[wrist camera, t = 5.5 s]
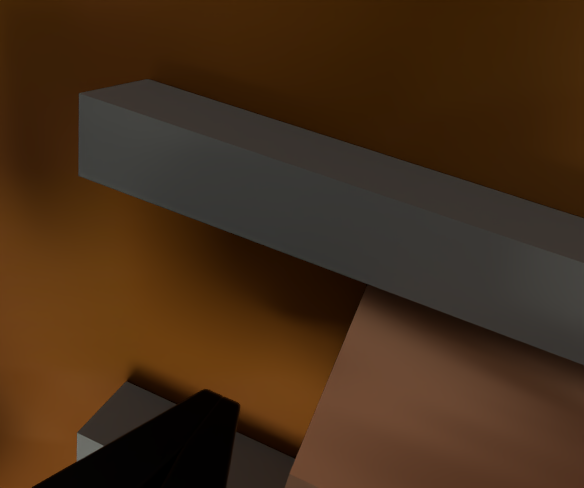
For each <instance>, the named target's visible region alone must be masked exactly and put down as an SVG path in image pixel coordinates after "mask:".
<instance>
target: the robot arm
mask: <svg viewBox="0 0 584 488" xmlns="http://www.w3.org/2000/svg"><path fill="white" fill-rule="evenodd" d="M239 412H240V404H239V403H238V402H236V401H233V400H231V399H229V398H227V397H223V396H222V395H220V394H217V393H215V392H213V391H211V390H208V389H204V390H201V391H200V392H198V393H196V394H194V395H192V396H191V397H189V398H187V399H185V400H184V401H182V402H180V403H178V404H177V405H175V406H173V407H171V408H170V409H168V410H166V411H164V412H163V413H161V414H159V415H157V416H156V417H154V418H152V419H150V420H149V421H147V422H145V423H143V424H142V425H140V426H138V427H136V428H135V429H133V430H131V431H129V432H128V433H126V434H124V435H122V436H121V437H119V438H117V439H115V440H114V441H112V442H110V443H108V444H107V445H105V446H103V447H101V448H100V449H98V450H96V451H94V452H93V453H91V454H89V455H87V456H86V457H84V458H82V459H80V460H79V461H77V462H75V463H73V464H72V465H70V466H68V467H66V468H65V469H63V470H61V471H59V472H58V473H56V474H54V475H52V476H51V477H49V478H47V479H45V480H44V481H42V482H40V483H38V484H37V485H35V486H33V487H32V488H226V487H227V482H228V476H229V470H230V464H231V459H232V453H233V447H234V441H235V435H236V430H237V424H238V418H239Z"/></svg>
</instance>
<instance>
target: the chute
mask: <svg viewBox="0 0 584 488" xmlns="http://www.w3.org/2000/svg"><path fill="white" fill-rule="evenodd" d="M79 176H80V177H83V178H86V179H88V180H91V181H94V182H96V183H99V184H102V185H104V186H107V187H110V188H112V189H115V190H118V191H120V192H123V193H126V194H128V195H131V196H134V197H136V198H139V199H142V200H144V201H147V202H150V203H152V204H155V205H158V206H160V207H163V208H166V209H168V210H171V211H174V212H177V213H179V214H182V215H185V216H187V217H190V218H193V219H195V220H198V221H201V222H203V223H206V224H209V225H211V226H214V227H217V228H219V229H222V230H225V231H227V232H230V233H233V234H235V235H238V236H241V237H243V238H246V239H249V240H251V241H254V242H257V243H259V244H262V245H265V246H267V247H270V248H273V249H275V250H278V251H281V252H283V253H286V254H289V255H291V256H294V257H297V258H299V259H302V260H305V261H307V262H310V263H313V264H315V265H318V266H321V267H323V268H326V269H329V270H331V271H334V272H337V273H339V274H342V275H345V276H347V277H350V278H353V279H355V280H358V281H361V282H363V283H366V284H369V285H371V286H374V287H377V288H379V289H382V290H385V291H387V292H390V293H393V294H395V295H398V296H401V297H403V298H406V299H409V300H411V301H414V302H417V303H419V304H422V305H425V306H427V307H430V308H433V309H435V310H438V311H441V312H443V313H446V314H449V315H451V316H454V317H457V318H459V319H462V320H465V321H467V322H470V323H473V324H475V325H478V326H481V327H483V328H486V329H489V330H491V331H494V332H497V333H499V334H502V335H505V336H507V337H510V338H513V339H515V340H518V341H521V342H523V343H526V344H529V345H531V346H534V347H537V348H539V349H542V350H545V351H547V352H550V353H553V354H555V355H558V356H561V357H563V358H566V359H569V360H571V361H574V362H577V363H579V364H582V365H584V218H581V217H578V216H575V215H572V214H569V213H566V212H562V211H559V210H556V209H553V208H550V207H547V206H544V205H541V204H537V203H534V202H531V201H528V200H525V199H522V198H519V197H516V196H512V195H509V194H506V193H503V192H500V191H497V190H494V189H491V188H487V187H484V186H481V185H478V184H475V183H472V182H469V181H466V180H462V179H459V178H456V177H453V176H450V175H447V174H444V173H441V172H437V171H434V170H431V169H428V168H425V167H422V166H419V165H415V164H412V163H409V162H406V161H403V160H400V159H397V158H394V157H390V156H387V155H384V154H381V153H378V152H375V151H372V150H369V149H365V148H362V147H359V146H356V145H353V144H350V143H347V142H344V141H340V140H337V139H334V138H331V137H328V136H325V135H322V134H319V133H315V132H312V131H309V130H306V129H303V128H300V127H297V126H294V125H290V124H287V123H284V122H281V121H278V120H275V119H272V118H269V117H265V116H262V115H259V114H256V113H253V112H250V111H247V110H244V109H240V108H237V107H234V106H231V105H228V104H225V103H222V102H219V101H215V100H212V99H209V98H206V97H203V96H200V95H197V94H194V93H190V92H187V91H184V90H181V89H178V88H175V87H172V86H169V85H165V84H162V83H159V82H156V81H153V80H150V79H146V80H141V81H136V82H131V83H126V84H121V85H116V86H112V87H107V88H102V89H97V90H92V91H87V92H82V93H79ZM175 405H177V404H175V403H173V402H170V401H168V400H166V399H164V398H162V397H159V396H157V395H155V394H153V393H151V392H149V391H146V390H144V389H142V388H140V387H138V386H135V385H133V384H131V383H129V382H127V381H126V382H125V383H124V384H123V385H122V386H121V387H120V388H119V389H118V390H117V391H116V393H115V394H114V395H113V396H112V397H111V398H110V399H109V400H108V401H107V402H106V403H105V404H104V405H103V406H102V407H101V408H100V409H99V410H98V411H97V412H96V413H95V415H94V416H93V417H92V418H91V419H90V420H89V421H88V422H87V423H86V424H85V425H84V426H83V427H82V428H81V429H80V430H79V431H78V432H77V461H79V460H80V459H82V458H84V457H86V456H87V455H89V454H91V453H93V452H94V451H96V450H98V449H100V448H101V447H103V446H105V445H107V444H108V443H110V442H112V441H114V440H115V439H117V438H119V437H121V436H122V435H124V434H126V433H128V432H129V431H131V430H133V429H135V428H136V427H138V426H140V425H142V424H143V423H145V422H147V421H149V420H150V419H152V418H154V417H156V416H157V415H159V414H161V413H163V412H164V411H166V410H168V409H170V408H171V407H173V406H175ZM294 461H295V459H294V458H292V457H290V456H288V455H286V454H284V453H281V452H279V451H277V450H275V449H273V448H270V447H268V446H266V445H264V444H262V443H260V442H257V441H255V440H253V439H251V438H249V437H247V436H244V435H242V434H240V433H238V432H236V435H235V441H234V447H233V453H232V459H231V464H230V470H229V476H228V482H227V487H226V488H285V485H286V482H287V479H288V476H289V473H290V471H291V469H292V466H293V464H294Z"/></svg>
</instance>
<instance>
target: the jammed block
mask: <svg viewBox="0 0 584 488" xmlns="http://www.w3.org/2000/svg"><path fill="white" fill-rule="evenodd" d="M285 488H584V365H582V364H579V363H577V362H574V361H571V360H569V359H566V358H563V357H561V356H558V355H555V354H553V353H550V352H547V351H545V350H542V349H539V348H537V347H534V346H531V345H529V344H526V343H523V342H521V341H518V340H515V339H513V338H510V337H507V336H505V335H502V334H499V333H497V332H494V331H491V330H489V329H486V328H483V327H481V326H478V325H475V324H473V323H470V322H467V321H465V320H462V319H459V318H457V317H454V316H451V315H449V314H446V313H443V312H441V311H438V310H435V309H433V308H430V307H427V306H425V305H422V304H419V303H417V302H414V301H411V300H409V299H406V298H403V297H401V296H398V295H395V294H393V293H390V292H387V291H385V290H382V289H379V288H377V287H374V286H371V285H369V284H367V287H366V289H365V292H364V294H363V296H362V299H361V301H360V304H359V306H358V309H357V311H356V313H355V316H354V318H353V321H352V323H351V326H350V328H349V330H348V333H347V335H346V338H345V340H344V342H343V345H342V347H341V350H340V352H339V355H338V357H337V359H336V362H335V364H334V367H333V369H332V372H331V374H330V376H329V379H328V381H327V384H326V386H325V389H324V391H323V393H322V396H321V398H320V401H319V403H318V406H317V408H316V410H315V413H314V415H313V418H312V420H311V422H310V425H309V427H308V430H307V432H306V435H305V437H304V439H303V442H302V444H301V447H300V449H299V452H298V454H297V456H296V459H295V461H294V464H293V466H292V469H291V471H290V473H289V476H288V479H287V482H286V485H285Z"/></svg>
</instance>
